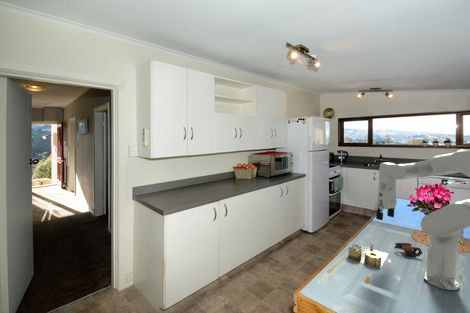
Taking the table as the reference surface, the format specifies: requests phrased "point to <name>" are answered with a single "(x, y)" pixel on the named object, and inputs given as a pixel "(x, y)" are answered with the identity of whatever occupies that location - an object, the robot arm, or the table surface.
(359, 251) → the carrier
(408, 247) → the brown clawed ring bracket
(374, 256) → the planet gear
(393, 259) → the table surface
